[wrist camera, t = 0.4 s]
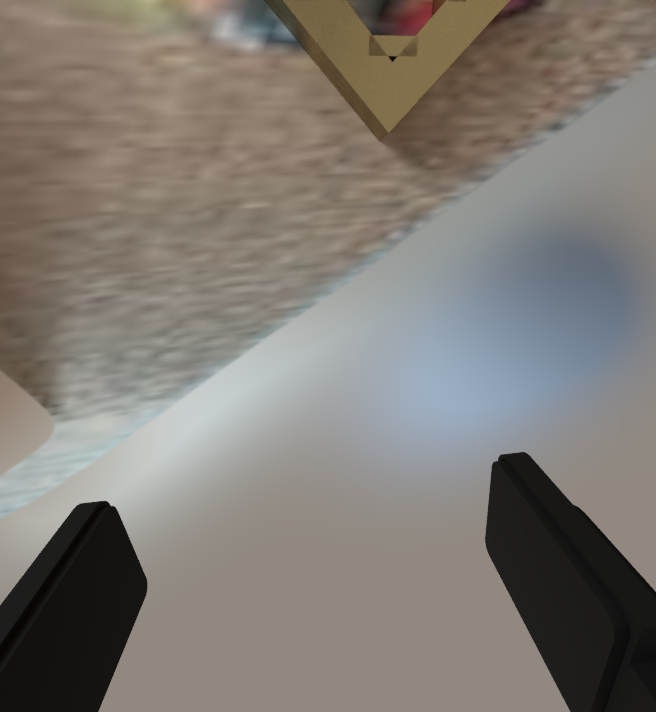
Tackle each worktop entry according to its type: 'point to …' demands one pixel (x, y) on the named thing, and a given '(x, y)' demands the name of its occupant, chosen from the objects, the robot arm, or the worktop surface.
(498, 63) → the worktop surface
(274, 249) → the worktop surface
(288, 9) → the block
